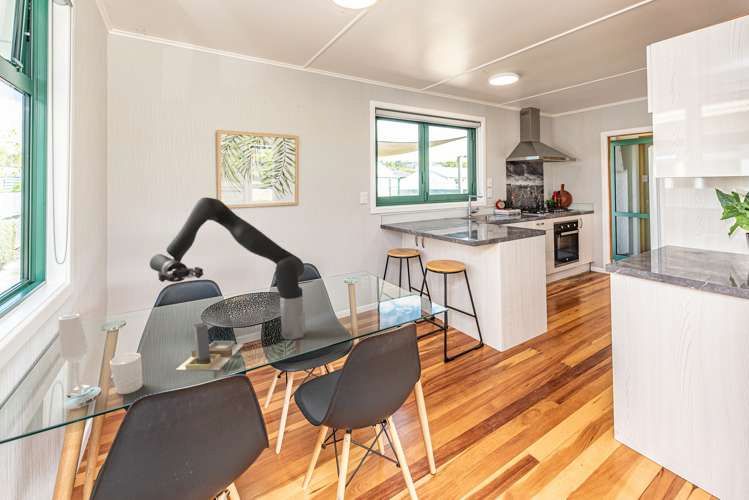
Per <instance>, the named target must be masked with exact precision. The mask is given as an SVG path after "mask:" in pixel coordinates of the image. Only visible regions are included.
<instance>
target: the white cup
mask: <svg viewBox="0 0 749 500" xmlns="http://www.w3.org/2000/svg"><path fill="white" fill-rule="evenodd" d="M109 365H110V371H111V375H112V380H113V384H114V388H115V392H116V394H118V395H126V394H127V395H128V394H131V393H134V392H136V391H138V390H140V389H141V388H142V387H143V365H142V355H141V353H138V352H129V353H123V354H120V355H118V356H114V357H113V358H112V359H110V361H109Z"/></svg>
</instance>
